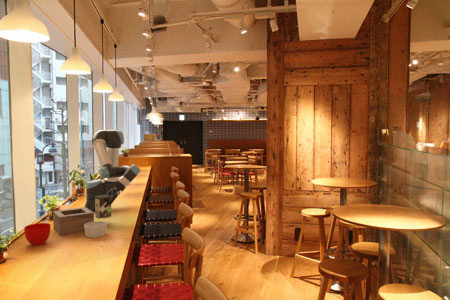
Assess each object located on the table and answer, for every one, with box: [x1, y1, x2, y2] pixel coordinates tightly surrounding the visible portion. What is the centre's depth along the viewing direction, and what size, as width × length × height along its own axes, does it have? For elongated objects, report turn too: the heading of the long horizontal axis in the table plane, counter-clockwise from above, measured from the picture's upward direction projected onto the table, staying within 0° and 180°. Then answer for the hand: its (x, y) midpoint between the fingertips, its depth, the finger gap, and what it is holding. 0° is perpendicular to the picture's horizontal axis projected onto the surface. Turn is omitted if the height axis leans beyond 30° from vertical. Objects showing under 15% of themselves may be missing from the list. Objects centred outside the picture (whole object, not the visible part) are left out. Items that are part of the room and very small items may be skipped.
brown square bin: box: [52, 206, 95, 237], centre depth 225 cm, size 20×20×12 cm
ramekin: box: [84, 220, 108, 239], centre depth 212 cm, size 13×13×7 cm
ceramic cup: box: [23, 222, 52, 246], centre depth 198 cm, size 13×17×10 cm
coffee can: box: [94, 195, 112, 220], centre depth 236 cm, size 10×10×14 cm
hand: (98, 209), depth 234 cm, fingers closed on coffee can, 10 cm apart
